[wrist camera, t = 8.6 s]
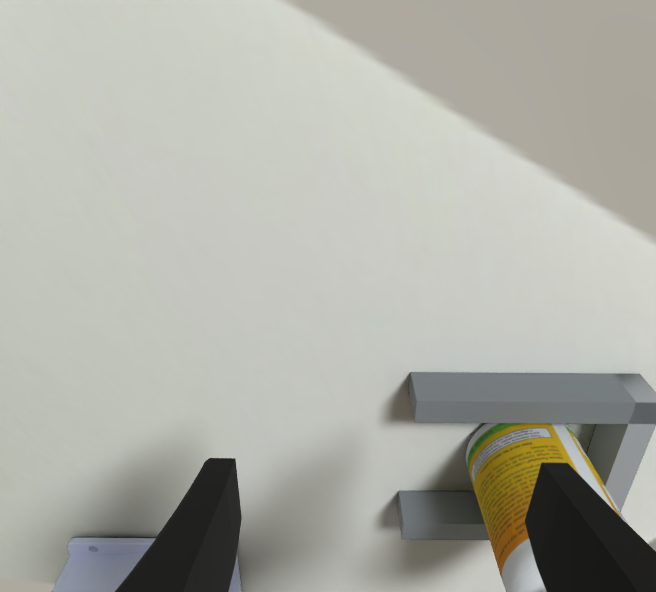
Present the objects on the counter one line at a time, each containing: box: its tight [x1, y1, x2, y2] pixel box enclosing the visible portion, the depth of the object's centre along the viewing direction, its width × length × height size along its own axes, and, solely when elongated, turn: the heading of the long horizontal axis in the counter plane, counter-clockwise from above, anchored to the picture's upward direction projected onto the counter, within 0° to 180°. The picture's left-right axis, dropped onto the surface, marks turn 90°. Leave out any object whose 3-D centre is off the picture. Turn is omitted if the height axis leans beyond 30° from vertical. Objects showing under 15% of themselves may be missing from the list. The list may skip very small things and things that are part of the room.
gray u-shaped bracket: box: [397, 372, 656, 540], centre depth 24 cm, size 10×9×2 cm
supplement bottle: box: [466, 423, 627, 592], centre depth 21 cm, size 5×5×10 cm
